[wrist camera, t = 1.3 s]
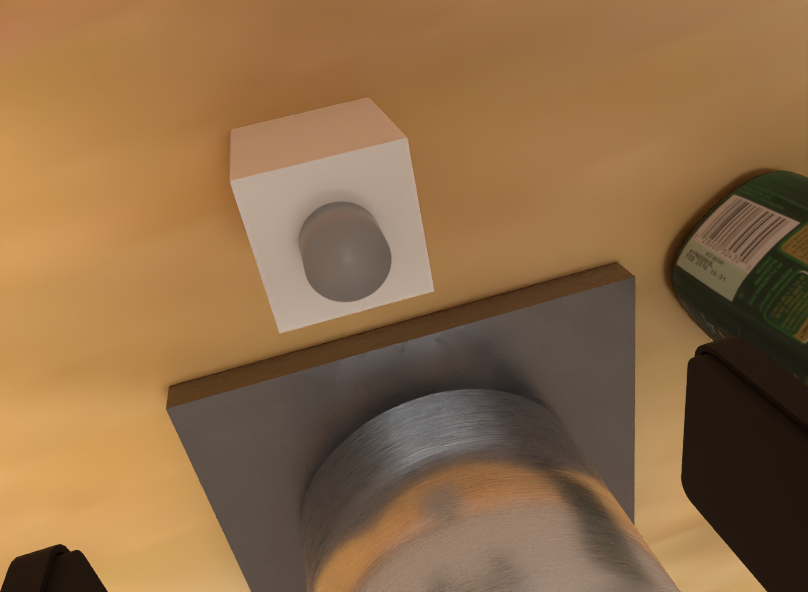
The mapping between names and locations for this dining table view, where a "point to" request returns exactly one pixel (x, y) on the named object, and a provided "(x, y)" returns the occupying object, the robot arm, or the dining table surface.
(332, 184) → the white block with knob
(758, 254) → the coffee jar
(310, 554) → the cylinder on square plate
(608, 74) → the dining table surface
